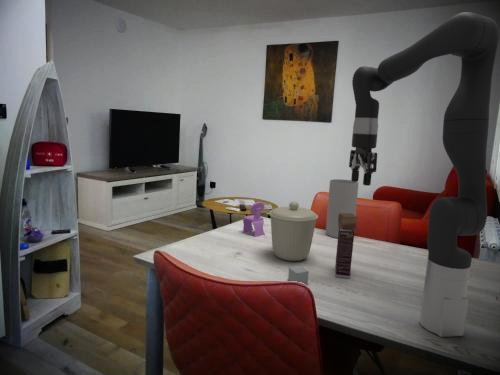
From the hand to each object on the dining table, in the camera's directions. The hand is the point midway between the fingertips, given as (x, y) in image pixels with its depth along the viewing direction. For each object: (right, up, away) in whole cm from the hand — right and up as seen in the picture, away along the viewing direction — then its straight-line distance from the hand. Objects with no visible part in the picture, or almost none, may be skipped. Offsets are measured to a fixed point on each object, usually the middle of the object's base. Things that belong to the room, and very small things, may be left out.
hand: (360, 183), depth 117 cm
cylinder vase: (+5, -24, +49) cm, 55 cm away
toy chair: (-34, -22, +46) cm, 62 cm away
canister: (-20, -28, +19) cm, 39 cm away
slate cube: (-21, -31, -4) cm, 38 cm away
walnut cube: (-4, -15, +3) cm, 16 cm away
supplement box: (-4, -31, +6) cm, 31 cm away
